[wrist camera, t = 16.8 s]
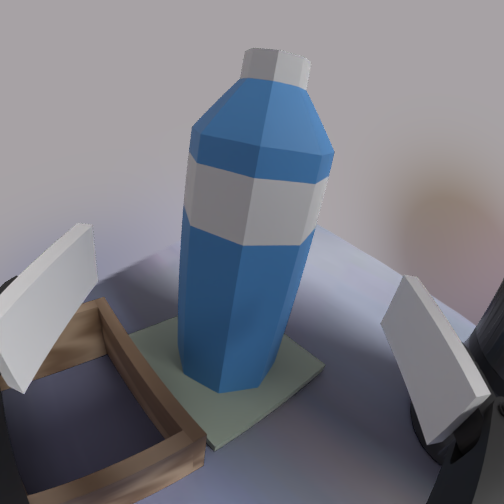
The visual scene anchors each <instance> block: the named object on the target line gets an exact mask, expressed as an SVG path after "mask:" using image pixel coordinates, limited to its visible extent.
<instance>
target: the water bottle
mask: <svg viewBox="0 0 504 504" xmlns="http://www.w3.org/2000/svg"><path fill="white" fill-rule="evenodd" d="M310 67H311V62H310V61H309V60H307V59H306V58H305V57H303V56H299V55H296V54H292V53H288V52H285V51H281V50H273V49H261V48H260V49H259V48H252V49H249V50H247V51H245V55H244V60H243V66H242V72H241V77H240V79H239V80H238V81H237V82H236V83H235V84H234V85H233V86H232V87H231V88H230V89H229V90H228V91H227V92H226V93H225V94H224V95H223V96H222V97H221V98H220V99H219V100H218V101H217V102H216V103H215V104H214V105H213V106H212V107H211V108H210V109H209V110H208V111H207V112H206V113H205V114H204V115H203V116H202V117H201V118H200V119H199V120H198V121H197V122H196V123H195V124H194V126H192V132H191V140H190V148H189V156H188V166H187V175H186V185H185V195H184V207H183V220H182V234H181V250H180V269H179V294H178V349H179V354H180V359H181V364H182V369H183V373H184V374H185V375H187V376H188V377H190V378H192V379H193V380H195V381H197V382H199V383H200V384H202V385H204V386H206V387H207V388H209V389H211V390H213V391H215V392H217V393H226V392H233V391H239V390H246V389H252V388H258V387H259V385H260V384H261V382H262V381H263V379H264V378H265V376H266V375H267V373H268V372H269V370H270V368H271V367H272V365H273V364H274V362H275V359H276V356H277V353H278V350H279V347H280V344H281V341H282V338H283V335H284V332H285V329H286V325H287V322H288V319H289V316H290V313H291V310H292V306H293V303H294V300H295V297H296V293H297V290H298V287H299V284H300V280H301V277H302V273H303V270H304V267H305V263H306V260H307V256H308V253H309V249H310V246H311V242H312V238H313V235H314V231H315V227H316V224H317V220H318V216H319V212H320V208H321V205H322V201H323V197H324V193H325V189H326V185H327V181H328V177H329V173H330V169H331V165H332V161H333V156H334V150H333V148H332V146H331V143H330V141H329V138H328V136H327V134H326V131H325V129H324V127H323V125H322V123H321V121H320V118H319V116H318V114H317V112H316V110H315V108H314V105H313V104H312V102H311V99H310V97H309V95H308V93H307V91H306V88H307V83H308V78H309V73H310Z"/></svg>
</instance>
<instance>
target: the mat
mask: <svg viewBox="0 0 504 504" xmlns="http://www.w3.org/2000/svg"><path fill="white" fill-rule="evenodd" d="M129 337H130V338H131V339H132V341H133V342H134V344H135V345H136V347H137V348H138V350H139V351H140V352H141V354H142V355H143V357H144V358H145V359H146V361H147V362H148V363H149V365H150V366H151V367H152V369H153V370H154V371H155V373H156V374H157V375H158V377H159V378H160V379H161V381H162V382H163V383H164V384H165V386H166V387H167V388H168V389H169V391H170V392H171V393H172V394H173V396H174V397H175V398H176V399H177V400H178V402H179V403H180V404H181V405H182V406H183V408H184V409H185V410H186V411H187V412H188V413H189V415H190V416H191V417H192V418H193V419H194V420H195V421H196V423H197V424H198V425H199V426H200V427H201V428H202V429H203V430H204V431H205V433H206V434H207V439H206V443H207V444H208V445H209V446H210V447H211V448H212V449H213V450H214V451H216V450H218V449H219V448H221V447H222V446H224V445H225V444H227V443H229V442H230V441H232V440H233V439H234V438H236V437H237V436H239V435H240V434H242V433H243V432H245V431H246V430H248V429H249V428H250V427H252V426H253V425H255V424H256V423H257V422H259V421H260V420H262V419H263V418H264V417H266V416H267V415H268V414H270V413H271V412H272V411H274V410H275V409H276V408H278V407H279V406H280V405H281V404H283V403H284V402H285V401H287V400H288V399H289V398H290V397H292V396H293V395H294V394H295V393H297V392H298V391H299V390H300V389H301V388H303V387H304V386H305V385H306V384H308V383H309V382H310V381H311V380H312V379H313V378H315V377H316V376H317V375H318V374H319V373H320V372H322V371H323V369H324V367H325V364H324V363H323V362H321V361H320V360H318V359H317V358H316V357H314V356H313V355H312V354H310V353H309V352H308V351H306V350H305V349H304V348H302V347H301V346H300V345H298V344H297V343H296V342H294V341H293V340H292V339H290V338H289V337H288V336H287V335H285V334H284V335H283V338H282V341H281V344H280V347H279V350H278V353H277V356H276V359H275V362H274V364H273V365H272V367H271V368H270V370H269V372H268V373H267V375H266V376H265V378H264V379H263V381H262V382H261V384H260V385H259V387H258V388H252V389H246V390H239V391H233V392H226V393H217V392H215V391H213V390H211V389H209V388H207V387H206V386H204V385H202V384H200V383H199V382H197V381H195V380H193V379H192V378H190V377H188V376H187V375H185V374H184V373H183V369H182V364H181V359H180V354H179V349H178V316H176V317H174V318H171V319H168V320H166V321H163V322H161V323H158V324H155V325H153V326H150V327H147V328H145V329H142V330H140V331H137V332H134V333H132V334H129Z"/></svg>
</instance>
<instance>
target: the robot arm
mask: <svg viewBox="0 0 504 504" xmlns="http://www.w3.org/2000/svg"><path fill="white" fill-rule="evenodd" d="M98 281H99V280H98V273H97V264H96V255H95V244H94V231H93V225H90V224H83V223H77V224H76V225H75V226H74V227H72V228H71V229H70V230H69V231H68V232H66V234H64V235H63V236H62V237H61V238H59V239H58V240H57V241H56V242H55V243H54V244H52V245H51V246H50V247H49V248H48V249H47V250H46V251H45V252H44V253H42V254H41V255H40V256H39V257H38V258H37V259H36V260H35V261H34V262H33V263H32V264H30V266H28V267H27V268H26V269H25V270H24V271H23V272H22V273H21V274H20V275H19V276H15V277H13V278H12V279H10V280H8V281H7V282H5V283H4V284H3V285H2V286H1V287H0V376H1V375H2V377H3V378H4V380H5V382H6V383H7V385H8V386H9V387H11V388H13V389H15V390H17V391H19V392H21V393H23V394H25V392H26V390H27V388H28V387H29V385H30V383H31V381H32V380H33V378H34V376H35V375H36V373H37V371H38V369H39V368H40V366H41V365H42V363H43V361H44V360H45V358H46V356H47V355H48V353H49V352H50V350H51V349H52V347H53V345H54V344H55V342H56V341H57V339H58V338H59V336H60V335H61V333H62V332H63V330H64V329H65V327H66V326H67V324H68V323H69V321H70V320H71V318H72V317H73V316H74V314H75V313H76V311H77V310H78V308H79V307H80V306H81V304H82V303H83V301H84V300H85V299H86V297H87V296H88V295H89V293H90V292H91V290H92V289H93V288H94V286H95V285H96V284H97V282H98ZM380 324H381V326H382V328H383V331H384V333H385V335H386V338H387V340H388V342H389V345H390V347H391V349H392V352H393V354H394V357H395V359H396V361H397V364H398V366H399V369H400V371H401V374H402V376H403V379H404V382H405V384H406V387H407V389H408V392H409V395H410V397H411V417H412V422H413V426H414V429H415V431H416V434H417V436H418V438H419V440H420V442H421V444H422V445H423V447H424V448H425V450H426V451H427V452H428V453H429V455H430V456H431V457H432V458H433V459H434V460H435V461H437V462H438V463H439V464H440V465H442V467H441V470H440V472H439V475H438V477H437V480H436V482H435V485H434V487H433V490H432V492H431V494H430V496H429V499H428V501H427V503H426V504H504V279H503V281H502V283H501V285H500V287H499V289H498V290H497V292H496V294H495V296H494V298H493V300H492V301H491V303H490V305H489V307H488V308H487V310H486V312H485V313H484V315H483V316H482V318H481V320H480V321H479V323H478V325H477V326H476V328H475V329H474V331H473V332H472V334H471V335H470V337H469V338H468V339H467V340H466V341H465V342H464V343H462V342H461V340H460V339H459V337H458V336H457V334H456V333H455V331H454V329H453V328H452V326H451V325H450V323H449V322H448V320H447V319H446V317H445V316H444V314H443V313H442V311H441V310H440V308H439V307H438V305H437V304H436V302H435V301H434V299H433V298H432V297H431V295H430V294H429V292H428V291H427V290H426V289H425V287H424V286H423V284H422V283H421V281H420V280H419V279H418V277H414V276H408V275H404V276H403V278H402V280H401V282H400V285H399V287H398V289H397V291H396V293H395V295H394V297H393V299H392V302H391V304H390V306H389V308H388V310H387V312H386V314H385V316H384V318H383V320H382V322H381V323H380ZM0 504H30V503H29V501H28V498H27V495H26V493H25V490H24V487H23V484H22V481H21V478H20V475H19V472H18V469H17V465H16V462H15V458H14V455H13V451H12V447H11V443H10V439H9V434H8V430H7V425H6V420H5V414H4V408H3V402H2V395H1V388H0Z"/></svg>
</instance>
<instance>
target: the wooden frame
mask: <svg viewBox="0 0 504 504" xmlns="http://www.w3.org/2000/svg"><path fill="white" fill-rule="evenodd" d="M106 354H108V355H109V357H110V359H111V361H112V362H113V364H114V366H115V367H116V369H117V371H118V372H119V374H120V375H121V377H122V379H123V380H124V382H125V383H126V385H127V386H128V388H129V389H130V391H131V393H132V394H133V395H134V397H135V398H136V400H137V401H138V403H139V404H140V406H141V407H142V409H143V410H144V411H145V413H146V414H147V416H148V417H149V418H150V420H151V421H152V422H153V424H154V425H155V426H156V428H157V429H158V430H159V432H160V433H161V434H162V436H163V437H164V438H165V439H166V440H164V441H162V442H160V443H158V444H156V445H154V446H152V447H150V448H148V449H146V450H144V451H142V452H140V453H138V454H135V455H133V456H131V457H129V458H127V459H125V460H122V461H120V462H118V463H116V464H113V465H111V466H109V467H107V468H104V469H102V470H99V471H97V472H95V473H92V474H90V475H87V476H84V477H82V478H79V479H77V480H74V481H71V482H68V483H66V484H63V485H60V486H57V487H54V488H51V489H48V490H45V491H42V492H38V493H35V494H32V495H28V494H27V492H26V489H25V487H24V485H23V487H24V490H25V493H26V495H27V498H28V501H29V503H30V504H133V503H135V502H137V501H139V500H141V499H144V498H146V497H148V496H150V495H152V494H154V493H156V492H158V491H159V490H161V489H163V488H165V487H167V486H169V485H171V484H173V483H174V482H176V481H178V480H180V479H182V478H183V477H185V476H187V475H189V474H190V473H192V472H194V471H195V470H197V469H199V468H200V467H202V466H203V465H204V456H205V448H206V439H207V434H206V433H205V431H204V430H203V429H202V428H201V427H200V426H199V425H198V424H197V423H196V421H195V420H194V419H193V418H192V417H191V416H190V415H189V413H188V412H187V411H186V410H185V409H184V408H183V406H182V405H181V404H180V403H179V402H178V400H177V399H176V398H175V397H174V396H173V394H172V393H171V392H170V391H169V389H168V388H167V387H166V386H165V384H164V383H163V382H162V381H161V379H160V378H159V377H158V375H157V374H156V373H155V371H154V370H153V369H152V367H151V366H150V365H149V363H148V362H147V361H146V359H145V358H144V357H143V355H142V354H141V352H140V351H139V350H138V348H137V347H136V345H135V344H134V342H133V341H132V339H131V338H130V337H129V335H128V334H127V332H126V331H125V329H124V328H123V326H122V325H121V323H120V322H119V320H118V318H117V317H116V315H115V314H114V312H113V311H112V309H111V307H110V306H109V304H108V302H107V301H106V299H105V298H104V297H102V298H99V299H96V300H92V301H89V302H86V303H83V304H81V306H80V307H79V308H78V310H77V311H76V313H75V314H74V316H73V317H72V318H71V320H70V321H69V323H68V324H67V326H66V327H65V329H64V330H63V332H62V333H61V335H60V336H59V338H58V339H57V341H56V342H55V344H54V345H53V347H52V349H51V350H50V352H49V353H48V355H47V356H46V358H45V360H44V361H43V363H42V365H41V366H40V368H39V369H38V371H37V373H36V375H35V376H34V378H33V380H36V379H39V378H42V377H45V376H48V375H51V374H54V373H57V372H59V371H62V370H65V369H68V368H71V367H73V366H76V365H79V364H82V363H85V362H87V361H90V360H93V359H95V358H98V357H101V356H103V355H106ZM33 380H32V381H33ZM0 388H1V391H3V390H6V389H9V388H11V387H9V386H8V385H7V383H6V382H5V380H4V378H3V377H2V375H1V376H0ZM21 481H22V480H21ZM22 484H23V482H22Z"/></svg>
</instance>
